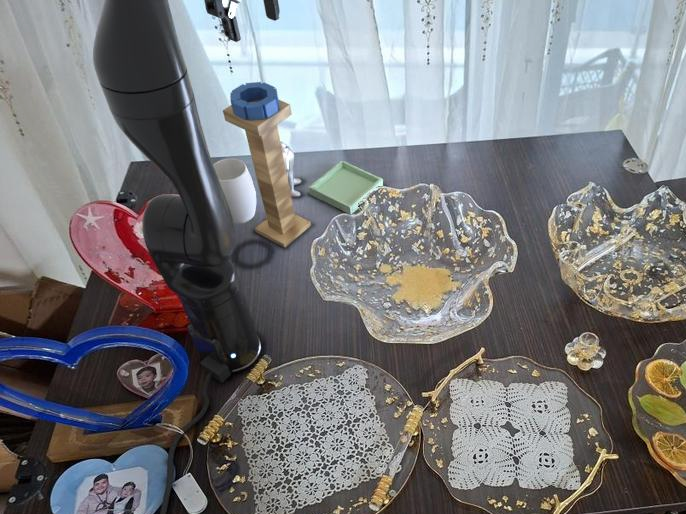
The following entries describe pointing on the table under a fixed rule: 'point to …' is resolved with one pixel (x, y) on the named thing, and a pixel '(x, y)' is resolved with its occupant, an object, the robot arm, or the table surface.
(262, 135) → the platform
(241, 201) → the cup
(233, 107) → the ring
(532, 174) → the table surface
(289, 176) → the figurine
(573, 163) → the table surface
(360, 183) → the tray
